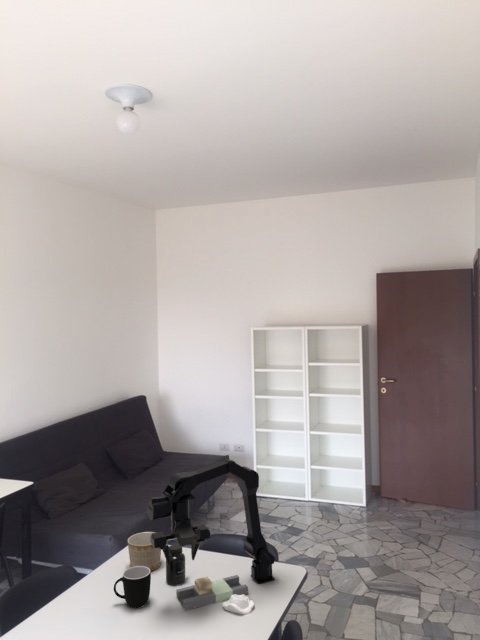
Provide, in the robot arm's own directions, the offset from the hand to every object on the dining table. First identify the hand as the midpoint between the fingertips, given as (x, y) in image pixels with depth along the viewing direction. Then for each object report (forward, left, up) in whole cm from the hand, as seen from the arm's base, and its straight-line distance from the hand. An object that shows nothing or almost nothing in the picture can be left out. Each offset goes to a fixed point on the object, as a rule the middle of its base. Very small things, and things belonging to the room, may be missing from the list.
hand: (180, 562), depth 172 cm
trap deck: (-11, 0, -13) cm, 17 cm away
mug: (+14, -7, -14) cm, 21 cm away
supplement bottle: (-3, -15, -14) cm, 20 cm away
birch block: (-8, 0, -11) cm, 13 cm away
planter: (+4, -31, -14) cm, 34 cm away
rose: (-15, +10, -14) cm, 23 cm away
